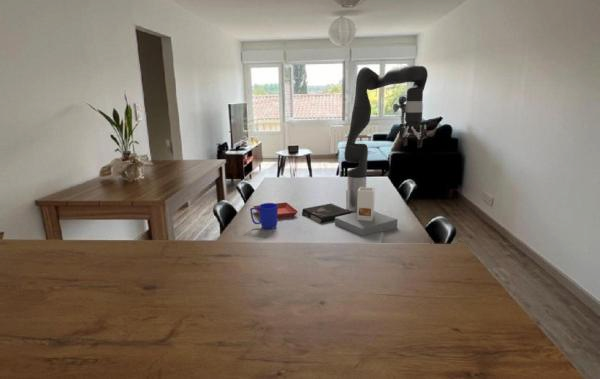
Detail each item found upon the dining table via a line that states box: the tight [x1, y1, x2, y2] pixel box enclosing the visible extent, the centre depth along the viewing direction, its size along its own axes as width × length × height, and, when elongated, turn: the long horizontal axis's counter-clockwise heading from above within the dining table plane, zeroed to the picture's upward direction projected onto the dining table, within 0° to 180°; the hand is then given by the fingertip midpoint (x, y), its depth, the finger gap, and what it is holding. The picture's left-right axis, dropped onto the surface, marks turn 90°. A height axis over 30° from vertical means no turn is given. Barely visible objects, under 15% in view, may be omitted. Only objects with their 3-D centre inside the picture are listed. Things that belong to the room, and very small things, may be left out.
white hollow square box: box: [357, 186, 375, 221], centre depth 161 cm, size 6×6×13 cm
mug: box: [249, 202, 278, 230], centre depth 165 cm, size 8×12×10 cm
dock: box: [334, 210, 398, 237], centre depth 163 cm, size 18×20×4 cm
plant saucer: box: [252, 202, 299, 220], centre depth 184 cm, size 18×18×3 cm
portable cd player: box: [301, 203, 352, 224], centre depth 177 cm, size 16×17×4 cm
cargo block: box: [360, 208, 371, 216], centre depth 162 cm, size 4×4×4 cm
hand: (412, 146), depth 176 cm, fingers open, 8 cm apart
